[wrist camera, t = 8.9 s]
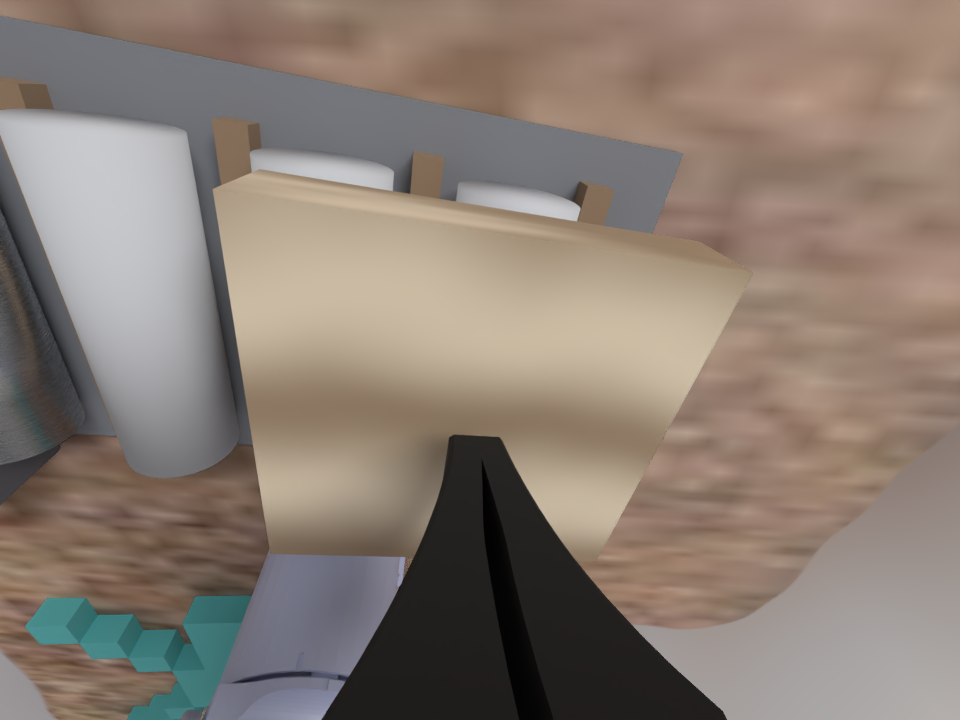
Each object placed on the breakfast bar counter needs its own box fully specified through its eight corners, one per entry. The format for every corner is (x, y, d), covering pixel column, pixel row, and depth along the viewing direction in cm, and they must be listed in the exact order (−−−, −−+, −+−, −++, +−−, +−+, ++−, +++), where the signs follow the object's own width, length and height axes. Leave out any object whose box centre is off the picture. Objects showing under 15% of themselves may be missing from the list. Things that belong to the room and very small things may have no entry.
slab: (577, 508, 18) (595, 561, 16) (292, 494, 16) (270, 553, 14) (699, 241, 12) (753, 272, 10) (259, 169, 10) (212, 188, 8)
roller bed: (553, 477, 24) (585, 588, 19) (-2, 445, 20) (-168, 577, 14) (696, 105, 14) (850, 112, 9) (-345, -128, 10) (-1287, -392, 5)
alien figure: (144, 709, 38) (368, 699, 41) (129, 741, 36) (365, 728, 39) (53, 590, 27) (364, 587, 30) (24, 627, 25) (359, 620, 28)
